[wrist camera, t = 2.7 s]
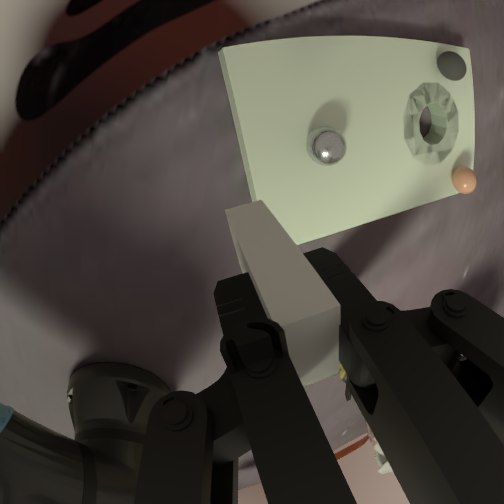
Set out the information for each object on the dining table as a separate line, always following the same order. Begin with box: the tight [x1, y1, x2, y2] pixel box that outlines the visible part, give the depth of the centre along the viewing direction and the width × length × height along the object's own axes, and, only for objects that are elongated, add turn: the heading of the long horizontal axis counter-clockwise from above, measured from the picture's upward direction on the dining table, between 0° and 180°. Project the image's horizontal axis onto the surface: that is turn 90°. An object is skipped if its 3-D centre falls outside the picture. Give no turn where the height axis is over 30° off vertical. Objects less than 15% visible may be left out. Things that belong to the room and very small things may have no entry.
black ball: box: [437, 51, 467, 81], centre depth 20 cm, size 3×3×3 cm
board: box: [218, 36, 475, 245], centre depth 25 cm, size 28×18×2 cm, turn 102°
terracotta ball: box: [452, 166, 477, 194], centre depth 27 cm, size 3×3×3 cm
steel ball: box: [306, 126, 347, 166], centre depth 22 cm, size 3×3×3 cm
